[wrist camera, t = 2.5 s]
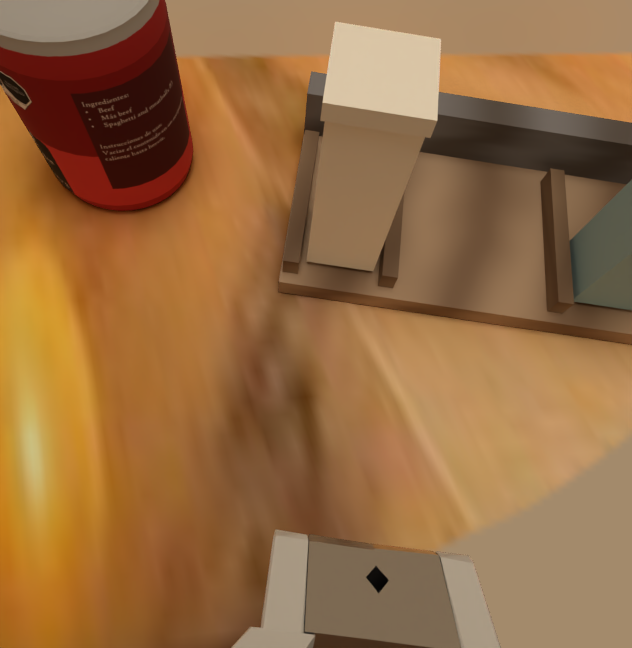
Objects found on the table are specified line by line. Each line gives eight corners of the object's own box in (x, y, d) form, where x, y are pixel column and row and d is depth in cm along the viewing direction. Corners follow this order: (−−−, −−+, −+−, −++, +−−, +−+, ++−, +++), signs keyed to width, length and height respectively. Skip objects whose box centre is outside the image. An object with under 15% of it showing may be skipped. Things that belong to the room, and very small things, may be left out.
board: (278, 291, 28) (279, 252, 24) (307, 120, 32) (312, 63, 29) (642, 346, 28) (701, 315, 25) (620, 169, 33) (667, 120, 29)
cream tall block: (303, 263, 27) (322, 102, 17) (312, 202, 28) (335, 21, 18) (375, 274, 27) (437, 120, 17) (381, 213, 28) (441, 38, 19)
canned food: (73, 101, 32) (-20, -106, 21) (205, 117, 32) (175, -79, 22) (37, 206, 29) (-91, 25, 19) (183, 223, 29) (136, 54, 19)
